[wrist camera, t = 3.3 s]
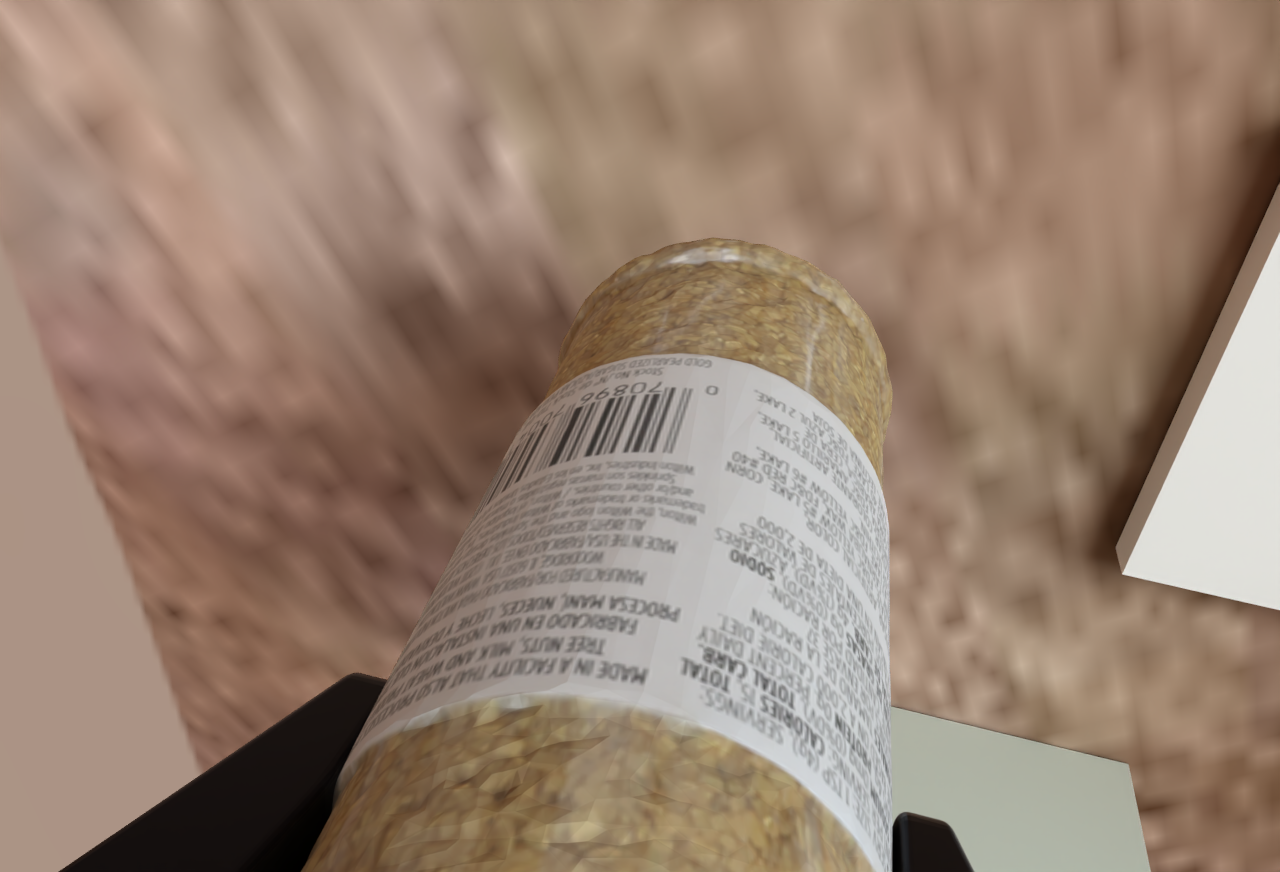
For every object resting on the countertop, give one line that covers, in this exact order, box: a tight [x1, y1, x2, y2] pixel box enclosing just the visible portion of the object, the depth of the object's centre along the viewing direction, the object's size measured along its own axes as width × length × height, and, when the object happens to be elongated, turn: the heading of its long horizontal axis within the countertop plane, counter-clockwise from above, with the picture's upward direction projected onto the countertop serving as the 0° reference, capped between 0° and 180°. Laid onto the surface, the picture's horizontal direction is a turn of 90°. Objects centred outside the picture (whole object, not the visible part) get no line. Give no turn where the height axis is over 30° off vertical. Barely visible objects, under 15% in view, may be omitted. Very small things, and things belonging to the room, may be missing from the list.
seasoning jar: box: [301, 238, 893, 872], centre depth 10 cm, size 5×5×14 cm
